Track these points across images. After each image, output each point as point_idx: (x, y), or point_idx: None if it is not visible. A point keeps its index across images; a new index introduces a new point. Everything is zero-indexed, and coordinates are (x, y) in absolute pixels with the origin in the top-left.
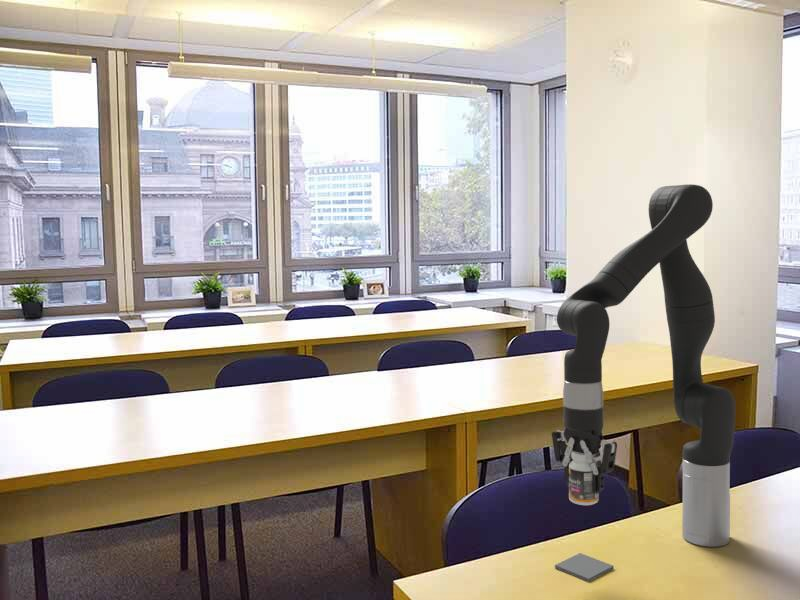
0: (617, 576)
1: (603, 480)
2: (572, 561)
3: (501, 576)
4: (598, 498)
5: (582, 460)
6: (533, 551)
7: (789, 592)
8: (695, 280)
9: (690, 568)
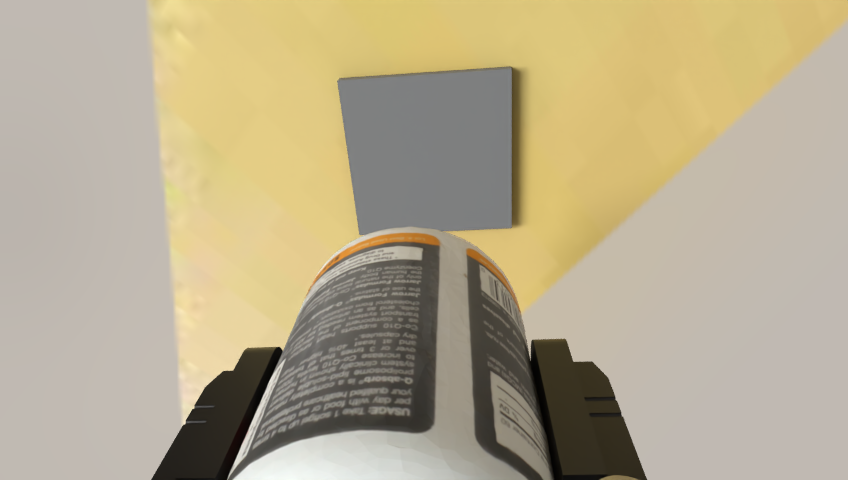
0: (560, 110)
1: (625, 438)
2: (376, 165)
3: None
4: (509, 285)
5: None
6: (206, 188)
7: None
8: None
9: None
